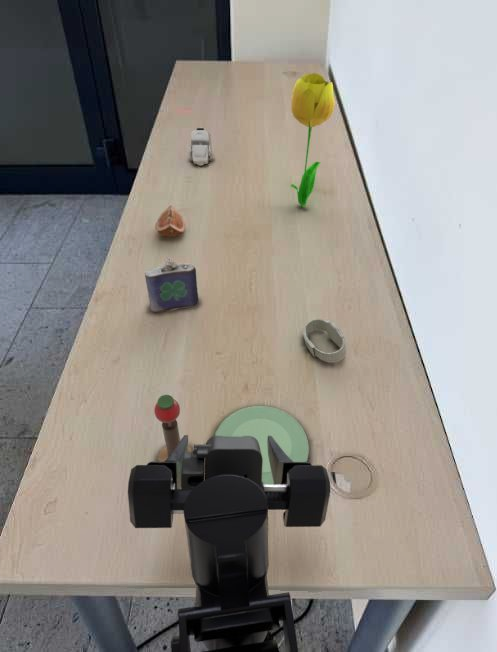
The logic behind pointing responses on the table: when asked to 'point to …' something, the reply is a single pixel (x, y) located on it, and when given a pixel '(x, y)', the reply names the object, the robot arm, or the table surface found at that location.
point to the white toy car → (200, 146)
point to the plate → (268, 433)
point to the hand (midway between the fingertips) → (228, 438)
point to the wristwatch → (333, 333)
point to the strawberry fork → (168, 424)
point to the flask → (172, 286)
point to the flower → (311, 119)
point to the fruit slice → (170, 223)
